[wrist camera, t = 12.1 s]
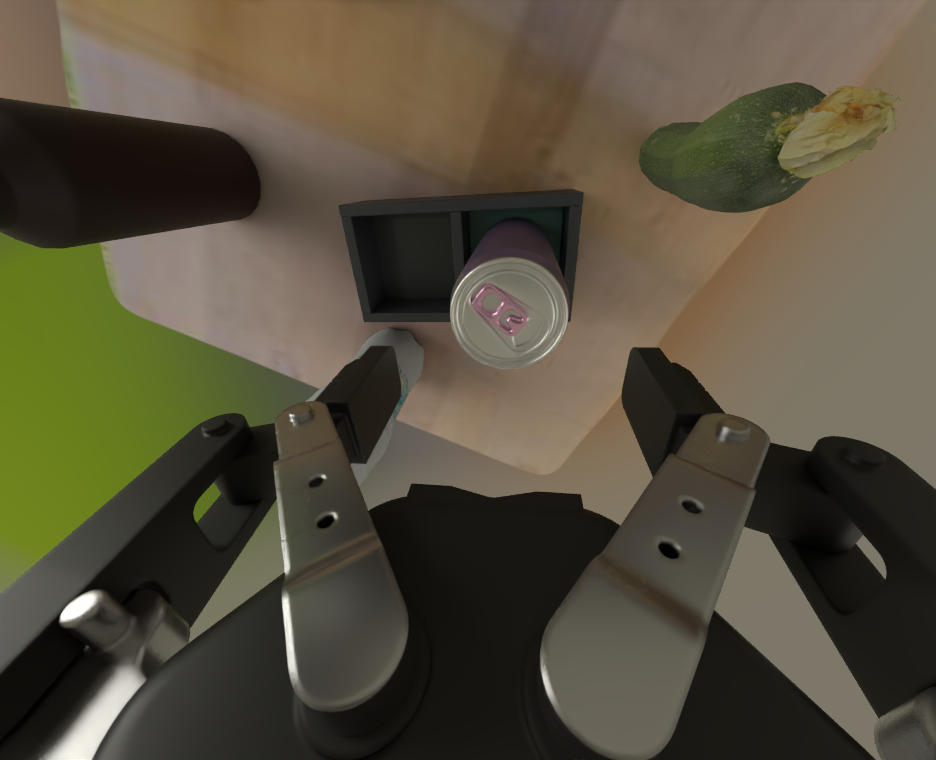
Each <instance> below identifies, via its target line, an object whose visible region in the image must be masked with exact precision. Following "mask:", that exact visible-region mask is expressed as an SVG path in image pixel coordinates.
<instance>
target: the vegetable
mask: <svg viewBox="0 0 936 760" xmlns="http://www.w3.org/2000/svg"><path fill="white" fill-rule="evenodd" d="M899 102H900V98H899V97H898V98H894V97H892V95H890V94H887V93H883V92H882V91H881V90H880V89H874V90H864V89H862V88H857V87H851V86H845V87H840V88H837V89H836V90H835V91H834V92H832V93H829V94H828V95H825V94H824V93H822V92H821V91H819V90H818V89H816V88H814V87H813V86H811V85H807V84H803V83H797V82H796V83H789V84H783V85H779V86H775V87H770V88H767V89H764V90H761V91H757V92H754V93H751V94H748V95H745V96H743V97H741V98H739V99H737V100H735V101H734V102H732V103H730V104H729V105H727V106H726V107H724V108H722V109H721V110H720V111H718V112H717V113H715V114H714V115H712V116H711V117H710V118H708V119H707V120H705V121H704V122H703V123H698V122H690V123H672V124H670V125H668V126H662V127H659V128H658V129H657V130H656V131H655V132H654V133H653V134H652V135H651V136H650V137H649V139H648V140H647V141H646V142H645V143H644V144H643V145H642V147H641V150H640V156H639V157H640V159H639V162H640V166H641V170H642V172H643V174H645V175H646V176H647V177H648V179H649V180H650V181H651V182H652V183H653V184H654V185H655V186H657V187H658V188H660V189H662V190H665V191H668V192H669V193H672V194H674V195H677V196H678V197H680V198H681V199H682V200H684V201H686V202H689V203H692V204H695V205H697V206H699V207H701V208H705V209H708V210H713V211H719V212H734V213H739V212H748V211H752V210H756V209H759V208H763V207H766V206H770V205H773V204H776V203H779V202H781V201H783V200H786V199H787V198H789V197H790V196H792V195H793V194H794V193H796V192H797V191H798V190H800V189H801V188H802V187H803V186H804V185H805V184H806V183H807V182H808V181H809V180H810V179H811V178H812V177H813V176H817V175H820V174H823V173H826V172H828V171H831V170H833V169H836V168H838V167H840V166H842V165H843V164H845V163H846V162H847V161H851V160H853V159H854V158H855V157H856V156H857V155H858V154H860V153H861V152H862V151H864V150H872V149H873V147H874V146H875V144H876V139H875V138H876V137H877V136H879V135H880V134H881V133H882V132H883V134H888V133H890V132H892V131H893V130H895V129H896V120H895V119H894V114H895V111H896V109H895V108H893V107H895V106H896V105H897V104H898V103H899Z"/></svg>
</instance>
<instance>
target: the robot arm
mask: <svg viewBox="0 0 936 760" xmlns="http://www.w3.org/2000/svg"><path fill="white" fill-rule="evenodd" d="M400 397H401V380H400V375H399V369H398V364H397V359H396V353H395V350H394V348H393V346H370V347H369V348H368V349H367V350H366V352H365V353H364V354H363V355H362V356H361V357H360V359H356V360H354V361H352V362H351V363H349V364H347V365H346V366H344V368H343V369H342V370H341V371H340V372H339V373H338V375H336V377H335V378H334V379H333V380H332V382H330V383H329V384H328V386H327V387H326V388H325V389H324V390H323V391H322V392H321V393H320V395H319V396H318V397H317V398H316V399H315V400H314V401H307V402H302V403H299V404H296V405H293V406H291V407H289V408H287V409H286V410H284V411H283V412H281V413H280V414H279V415H278V416H277V418H276V420H275V423H273V424H267V425H261V426H255V427H249V425H248V423H247V421H246V419H245V417H244V416H243V415H241V414H237V413H231V414H224V415H219V416H216V417H214V418H211V419H208V420H207V421H204V422H202V423H201V424H199V425H197V426H196V427H195V428H193V429H192V430H191V431H190V432H189V433H188V434H186V435H185V436H184V437H183V438H182V439H181V440H179V441H178V442H177V443H176V444H175V445H174V446H172V447H171V448H170V449H169V450H168V451H167V452H166V453H164V454H163V455H162V456H161V457H160V458H158V459H157V460H156V461H155V462H154V463H153V464H151V465H150V466H149V467H148V468H147V469H146V470H144V472H142V473H141V474H140V475H139V476H137V477H136V478H135V479H134V480H133V481H132V482H130V483H129V484H128V485H127V486H126V487H125V488H124V489H122V490H121V491H120V492H119V493H118V494H116V495H115V496H114V497H113V498H112V499H111V500H110V501H108V502H107V503H106V504H105V505H104V506H102V507H101V508H100V509H99V510H98V511H97V512H95V513H94V514H93V515H92V516H91V517H90V518H88V519H87V520H86V521H85V522H84V523H83V524H81V525H80V526H79V527H78V528H77V529H76V530H74V531H73V532H72V533H71V534H70V535H69V536H67V537H66V538H65V539H64V540H63V541H62V542H60V543H59V544H58V545H57V546H56V547H55V548H54V549H52V550H51V551H50V552H49V553H48V554H46V555H45V556H44V557H43V558H42V559H41V560H40V561H38V562H37V563H36V564H35V565H34V566H32V567H31V568H30V569H29V570H28V571H27V572H25V573H24V574H23V575H22V576H21V577H20V578H18V579H17V580H16V581H15V582H14V583H13V584H11V585H10V586H9V587H8V588H7V589H6V590H4V591H3V592H2V593H1V594H0V760H875V759H874V758H873V757H872V756H871V755H870V754H869V753H868V752H867V751H866V750H865V749H864V748H863V747H862V746H861V745H860V744H859V743H858V742H857V741H855V740H854V739H853V738H852V737H851V736H850V735H849V734H848V733H847V732H846V731H845V730H844V729H843V728H841V727H840V726H839V725H838V724H837V723H836V722H835V721H834V720H833V719H832V718H831V717H829V716H828V715H827V714H826V713H825V712H824V711H823V710H822V709H821V708H820V707H819V706H818V705H816V704H815V703H814V702H813V701H812V700H811V699H810V698H809V697H808V696H807V695H806V694H805V693H804V692H803V691H801V690H800V689H799V688H798V687H797V686H796V685H795V684H794V683H793V682H791V680H789V679H788V678H787V677H786V676H785V675H784V674H783V673H782V672H781V671H780V670H779V669H777V667H775V666H774V665H773V664H772V663H771V662H770V661H769V660H768V659H767V658H766V657H765V656H764V655H762V654H761V653H760V652H759V651H758V650H757V649H756V648H755V647H754V646H753V645H752V644H751V643H749V642H748V641H747V640H746V639H745V638H744V637H743V636H742V635H741V634H740V633H739V632H738V631H737V630H735V629H734V628H733V627H732V626H731V625H730V624H729V623H728V622H727V621H726V620H725V619H724V618H722V617H721V616H720V615H719V614H718V613H717V612H716V611H715V610H714V608H715V605H716V603H717V600H718V597H719V594H720V592H721V588H722V586H723V583H724V580H725V578H726V575H727V572H728V569H729V566H730V564H731V561H732V558H733V555H734V552H735V549H736V547H737V544H738V541H739V539H740V535H741V533H742V530H743V527H747V528H750V529H753V530H757V531H760V532H763V533H766V534H769V536H770V538H771V540H772V541H773V543H774V544H775V546H776V548H777V549H778V551H779V553H780V555H781V556H782V558H783V560H784V561H785V563H786V564H787V566H788V568H789V570H790V571H791V573H792V575H793V576H794V578H795V580H796V581H797V583H798V585H799V586H800V588H801V590H802V591H803V593H804V595H805V596H806V598H807V600H808V601H809V603H810V604H811V606H812V608H813V610H814V611H815V613H816V615H817V616H818V618H819V620H820V621H821V623H822V625H823V626H824V628H825V630H826V631H827V633H828V635H829V636H830V638H831V640H832V641H833V643H834V645H835V646H836V648H837V649H838V651H839V653H840V654H841V656H842V658H843V660H844V661H845V663H846V665H847V666H848V668H849V670H850V671H851V673H852V675H853V676H854V678H855V680H856V681H857V683H858V685H859V686H860V688H861V690H862V691H863V693H864V695H865V696H866V698H867V700H868V701H869V703H870V705H871V706H872V708H873V710H874V711H875V713H876V715H877V716H878V718H879V719H878V720H877V722H876V725H875V728H874V738H875V744H876V747H877V750H878V753H879V755H880V758H881V760H936V489H934V488H933V487H932V486H931V485H930V484H928V483H927V482H926V481H925V480H924V479H923V478H921V477H920V476H919V475H918V474H916V473H915V472H914V471H913V470H912V469H911V468H909V467H908V466H907V465H906V464H904V463H903V462H902V461H901V460H899V459H898V458H897V457H895V456H893V455H892V454H890V453H889V452H887V451H884V450H883V449H880V448H878V447H876V446H874V445H871V444H868V443H866V442H863V441H859V440H855V439H851V438H846V437H838V436H837V437H836V436H831V437H824V438H821V439H819V440H818V442H817V443H816V445H815V446H814V448H813V449H812V451H811V452H810V451H805V450H801V449H796V448H791V447H787V446H782V445H778V444H774V443H770V438H769V436H768V434H767V433H766V432H765V431H764V430H763V429H761V428H760V427H759V426H757V425H756V424H754V423H752V422H750V421H748V420H746V419H744V418H741V417H738V416H734V415H730V414H725V412H724V411H723V410H722V409H721V408H720V406H719V405H718V404H717V403H716V402H715V401H714V399H713V398H712V397H711V396H710V395H709V393H708V392H707V391H705V388H704V387H703V386H702V385H701V383H698V380H697V379H696V378H695V376H694V375H693V374H692V373H691V372H690V371H689V370H687V369H686V368H684V367H682V366H681V365H679V364H677V363H671V362H670V361H669V360H668V359H667V357H666V356H665V355H664V353H663V352H662V351H661V349H660V348H641V347H634V348H632V349H631V351H630V354H629V359H628V364H627V368H626V373H625V378H624V383H623V388H622V404H623V408H624V410H625V412H626V415H627V417H628V419H629V422H630V424H631V426H632V429H633V431H634V434H635V436H636V438H637V441H638V443H639V446H640V448H641V450H642V453H643V455H644V457H645V460H646V462H647V464H648V467H649V469H650V471H651V474H652V476H653V479H652V480H651V482H650V483H649V484H648V486H647V488H646V489H645V490H644V492H643V493H642V495H641V496H640V498H639V499H638V501H637V502H636V504H635V505H634V507H633V508H632V510H631V511H630V512H629V514H628V515H627V517H626V518H625V520H624V521H623V523H622V524H621V526H620V525H619V524H617V523H615V522H614V521H612V520H610V519H608V518H606V517H604V516H602V515H600V514H597V513H595V512H593V511H590V510H587V509H583V504H582V498H581V494H567V493H552V492H531V493H524V494H517V495H510V496H503V497H496V498H492V497H486V496H483V495H480V494H476V493H473V492H470V491H466V490H462V489H459V488H456V487H452V486H442V485H441V486H440V485H426V484H411V486H410V489H409V492H408V495H407V497H401V498H397V499H394V500H391V501H388V502H385V503H383V504H381V505H378V506H376V507H374V508H372V509H371V510H369V511H368V509H367V506H366V503H365V501H364V498H363V496H362V493H361V491H360V488H359V485H358V483H357V480H356V478H355V475H354V472H353V470H352V467H351V463H355V464H366V463H367V461H368V460H369V458H370V456H371V454H372V452H373V450H374V448H375V446H376V444H377V442H378V440H379V439H380V437H381V435H382V433H383V431H384V429H385V427H386V425H387V423H388V421H389V419H390V417H391V416H392V414H393V412H394V410H395V408H396V406H397V404H398V402H399V400H400ZM213 482H214V483H215V485H216V486H217V488H218V489H219V491H220V492H221V495H220V496H219V497H218V499H217V500H216V501H215V502H214V503H213V505H212V506H211V507H210V508H209V509H208V511H207V512H206V513H205V514H204V515H203V517H202V518H201V519H200V520H199V521H198V523H196V521H195V520H194V516H193V511H194V507H195V504H196V502H197V500H198V499H199V498H200V497H201V496H202V494H203V493H204V492H205V491H206V490H207V489H208V488H209V486H211V484H212V483H213ZM276 499H277V503H278V513H279V522H280V531H281V541H282V550H283V558H284V568H285V572H284V573H283V574H282V575H280V576H279V577H278V578H276V579H275V580H273V581H272V582H271V583H269V584H268V585H267V586H265V587H264V588H263V589H261V590H260V591H259V592H257V593H256V594H255V595H253V596H252V597H251V598H249V599H248V600H247V601H245V602H244V603H242V604H241V605H240V606H238V607H237V608H236V609H234V610H233V611H232V612H230V613H229V614H228V615H226V616H225V617H224V618H222V619H221V620H219V621H218V622H217V623H215V624H214V625H213V626H211V627H210V628H209V629H207V630H206V631H205V632H203V633H202V634H201V635H199V636H198V637H197V638H195V639H194V640H193V641H191V642H190V643H188V642H189V638H190V628H191V627H192V625H193V624H194V622H195V621H196V619H197V618H198V616H199V614H200V613H201V611H202V610H203V608H204V607H205V605H206V604H207V603H208V601H209V600H210V598H211V597H212V595H213V594H214V592H215V591H216V589H217V588H218V586H219V584H220V583H221V582H222V580H223V579H224V577H225V575H226V574H227V573H228V571H229V570H230V568H231V566H232V565H233V563H234V562H235V560H236V559H237V557H238V556H239V554H240V553H241V551H242V550H243V548H244V547H245V545H246V544H247V542H248V541H249V539H250V538H251V536H252V535H253V533H254V532H255V530H256V529H257V527H258V526H259V524H260V523H261V521H262V520H263V518H264V517H265V515H266V514H267V512H268V511H269V509H270V508H271V506H272V505H273V503H274V502H275V500H276ZM863 535H864V536H865V537H866V538H867V539H868V540H869V542H870V543H871V544H872V545H873V546H874V548H875V549H876V550H877V551H878V552H879V554H880V555H881V557H882V558H883V560H884V563H885V566H886V571H887V575H886V580H885V579H884V578H883V576H882V575H881V574H880V573H879V571H878V570H877V569H876V568H875V566H874V565H873V564H872V563H871V562H870V560H869V559H868V558H867V557H866V556H865V554H864V553H863V552H862V551H861V549H860V548H859V547H858V546H857V545H856V543H857V541H858V540H859V539H860V538H861V537H862V536H863Z"/></svg>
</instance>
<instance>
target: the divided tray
mask: <svg viewBox="0 0 936 760" xmlns="http://www.w3.org/2000/svg"><path fill="white" fill-rule="evenodd" d="M583 194H584V193H583V192H580V191H577V190H574V189H568V190H550V191H532V192H514V193H496V194H477V195H459V196H441V197H423V198H405V199H387V200H368V201H361V202H355V203H349V204H344V205H339V209H340V214H341V217H342V223H343V227H344V232H345V236H346V241H347V246H348V250H349V255H350V259H351V264H352V268H353V273H354V277H355V282H356V287H357V291H358V296H359V300H360V305H361V309H362V313H363V319H364V322H451V321H450V299H451V294H452V290H453V287H454V285H455V282H456V280H457V279H458V277H459V275H460V274H461V272H462V270H463V269H464V267H465V265H466V264H467V262H468V260H469V259H470V257H471V255H472V254H473V252H474V251H475V249H476V247H477V246H478V244H479V242H480V241H481V239H482V237H483V236H484V234H485V233H486V231H487V230H488V229H489V228H490V227H491V226H492V225H494V224H495V223H497V222H498V221H500V220H502V219H505V218H509V217H522V218H526V219H529V220H531V221H533V222H535V223H536V224H537V225H539V226H540V227H541V228H542V230H543V231H544V232H545V234H546V236H547V238H548V240H549V243H550V245H551V248H552V250H553V253H554V255H555V258H556V260H557V263H558V265H559V268H560V270H561V273H562V275H563V278H564V280H565V283H566V285H567V288H568V292H569V297H570V313H569V318H568V322H570V320H571V311H572V301H573V291H574V282H575V272H576V262H577V253H578V243H579V233H580V223H581V214H582V206H581V205H582V204H583Z"/></svg>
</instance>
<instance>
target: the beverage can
mask: <svg viewBox="0 0 936 760" xmlns="http://www.w3.org/2000/svg"><path fill="white" fill-rule="evenodd" d="M569 313H570V297H569V292H568V288H567V285H566V283H565V280H564V278H563V275H562V273H561V270H560V268H559V265H558V263H557V260H556V258H555V255H554V253H553V250H552V248H551V245H550V243H549V240H548V238H547V236H546V234H545V232H544V231H543V230H542V228H541V227H540V226H539V225H537V224H536V223H535V222H533V221H531V220H529V219H526V218H522V217H509V218H505V219H502V220H500V221H498V222H497V223H495V224H494V225H492V226H491V227H490V228H489V229H488V230H487V231H486V233H485V234H484V236H483V237H482V239H481V241H480V242H479V244H478V246H477V247H476V249H475V251H474V252H473V254H472V255H471V257H470V259H469V260H468V262H467V264H466V265H465V267H464V269H463V270H462V272H461V274H460V275H459V277H458V279H457V280H456V282H455V285H454V287H453V290H452V294H451V299H450V321H451V326H452V330H453V333H454V335H455V338H456V340H457V341H458V343H459V345H460V346H461V347H462V349H463V350H464V351H465V352H466V353H467V354H468V355H469V356H471V357H472V358H473V359H475V360H476V361H478V362H480V363H482V364H484V365H486V366H489V367H492V368H496V369H503V370H514V369H521V368H525V367H528V366H531V365H534V364H536V363H538V362H540V361H541V360H543V359H544V358H546V357H547V356H548V355H549V354H550V353H551V352H552V351H553V350H554V349H555V348H556V347H557V346H558V344H559V343H560V341H561V339H562V338H563V335H564V333H565V330H566V327H567V323H568V318H569Z"/></svg>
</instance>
